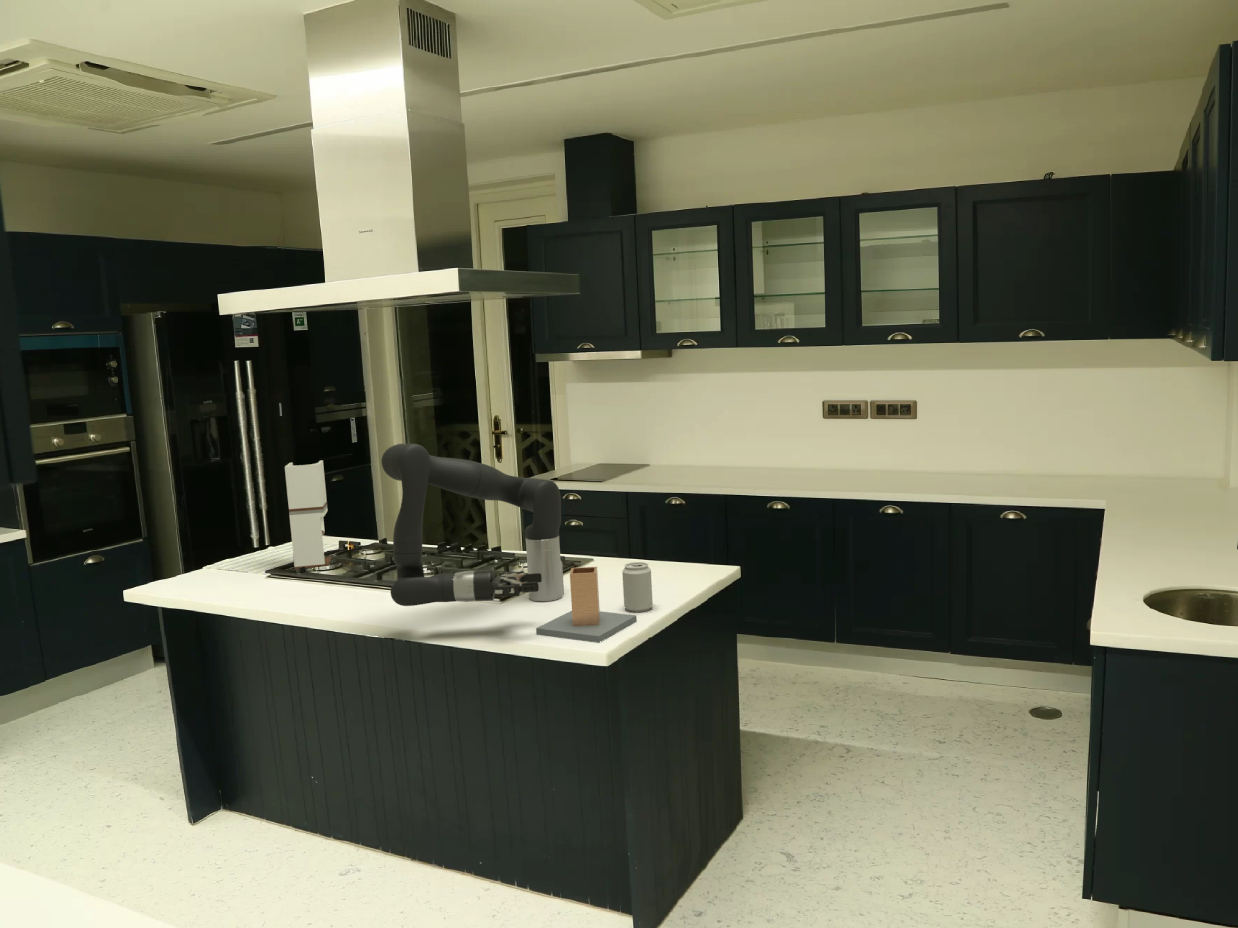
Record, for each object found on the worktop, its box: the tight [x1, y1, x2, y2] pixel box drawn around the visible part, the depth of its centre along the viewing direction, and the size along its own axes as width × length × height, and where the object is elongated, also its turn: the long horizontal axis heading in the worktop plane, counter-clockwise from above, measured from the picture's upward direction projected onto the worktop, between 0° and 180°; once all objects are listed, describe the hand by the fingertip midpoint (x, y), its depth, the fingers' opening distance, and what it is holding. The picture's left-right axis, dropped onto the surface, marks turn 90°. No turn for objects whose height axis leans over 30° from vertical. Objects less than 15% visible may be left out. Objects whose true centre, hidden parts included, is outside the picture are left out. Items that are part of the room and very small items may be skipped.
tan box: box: [569, 566, 601, 626], centre depth 239 cm, size 6×6×13 cm
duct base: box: [535, 610, 637, 643], centre depth 240 cm, size 18×18×6 cm
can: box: [621, 561, 654, 613], centre depth 254 cm, size 8×8×12 cm
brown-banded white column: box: [284, 460, 333, 570], centre depth 322 cm, size 11×11×35 cm
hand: (540, 581), depth 239 cm, fingers open, 8 cm apart
